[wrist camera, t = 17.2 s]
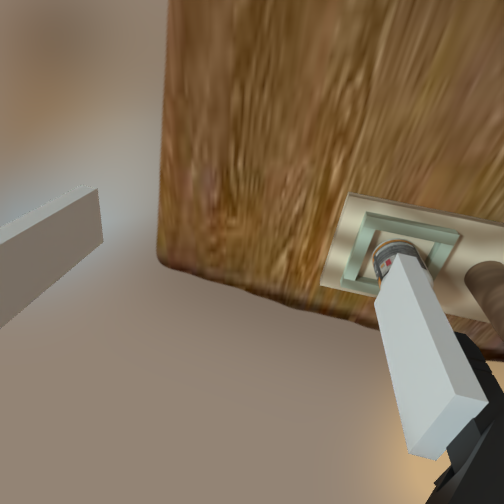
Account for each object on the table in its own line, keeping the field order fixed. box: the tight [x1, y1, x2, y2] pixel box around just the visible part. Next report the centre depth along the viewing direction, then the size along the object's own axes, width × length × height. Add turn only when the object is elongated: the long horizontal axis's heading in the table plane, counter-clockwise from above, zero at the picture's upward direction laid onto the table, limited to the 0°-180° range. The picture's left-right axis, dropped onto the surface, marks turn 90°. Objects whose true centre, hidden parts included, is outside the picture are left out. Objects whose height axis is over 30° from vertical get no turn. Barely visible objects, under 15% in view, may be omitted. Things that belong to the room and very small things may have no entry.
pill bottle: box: [372, 238, 437, 298], centre depth 38 cm, size 6×6×10 cm
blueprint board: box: [320, 192, 504, 342], centre depth 39 cm, size 14×26×12 cm, turn 81°
